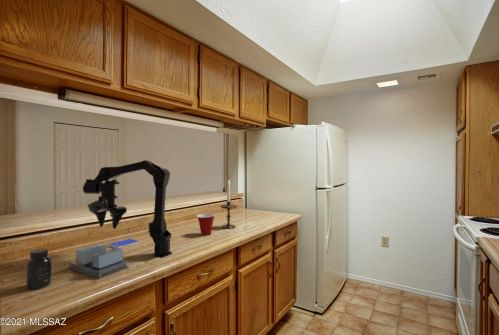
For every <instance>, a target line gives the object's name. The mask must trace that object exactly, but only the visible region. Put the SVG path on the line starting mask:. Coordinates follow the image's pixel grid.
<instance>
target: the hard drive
mask: <svg viewBox="0 0 499 335" xmlns="http://www.w3.org/2000/svg"><path fill="white" fill-rule="evenodd" d="M135 243H136V244H139V240H136V239H132V238H127V239H124V240H120V241H115V242H110V243H107V244H106V246H107V247H109V246H111V247H110V248H112V247H114V248H116V247H117V248H120V247H121V248H124V246H125V247H128V245H129V246H131V245H135Z"/></svg>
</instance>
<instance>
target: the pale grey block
mask: <svg viewBox="0 0 499 335" xmlns="http://www.w3.org/2000/svg"><path fill="white" fill-rule="evenodd" d="M106 246H107V244H103V243H96V244H93V245H90V246H85V247H82V248H78V249H75V261H76V262H77V263H80V265H83V264H86V263H90V262H92V254H96V253H99V252H103V251H106V250H107V247H106Z"/></svg>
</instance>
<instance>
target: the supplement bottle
mask: <svg viewBox="0 0 499 335" xmlns="http://www.w3.org/2000/svg"><path fill="white" fill-rule="evenodd" d="M25 264H26V266H25V277H26V278H25V279H26V280H25V285H26V289H28V290H30V291H33V290H35V291H36V290H39V289H43V288H47V287H49V286H50V285H51V283H52V258H51V257H50V256H49V250H48V249H47V248H38V249H34V250H31V251H30V252H29V259H28V260H27V261H26V263H25Z"/></svg>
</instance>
